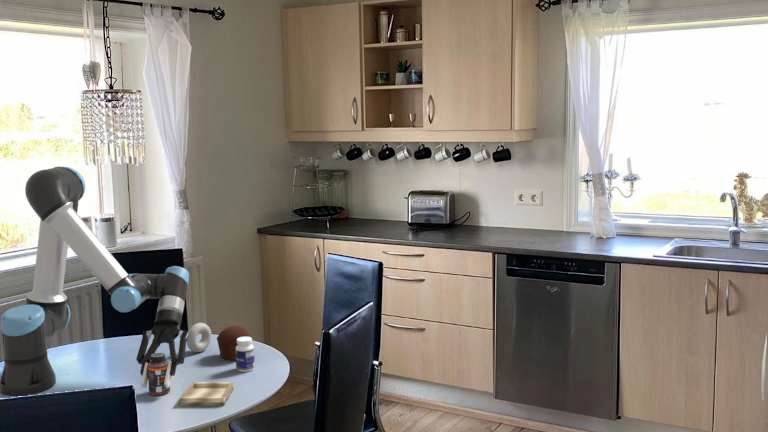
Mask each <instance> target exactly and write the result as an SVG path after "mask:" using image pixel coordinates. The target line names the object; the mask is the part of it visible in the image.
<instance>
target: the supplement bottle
mask: <svg viewBox="0 0 768 432" xmlns="http://www.w3.org/2000/svg"><path fill="white" fill-rule="evenodd" d="M168 363H170V362H169V361H168V360H167V359H166V354H165V353H164V352H155V353H154V354H152V355H151V361H150V362H149V363H148V381H147V383H148V393H149V394H150V395H152V396H163V395H166V394H168V393H170V391H171V385H170V386H169V388H166V386H165V384H164V382H165V377H166V372H167V367H168Z"/></svg>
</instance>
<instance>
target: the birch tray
mask: <svg viewBox="0 0 768 432" xmlns="http://www.w3.org/2000/svg"><path fill="white" fill-rule="evenodd" d="M233 391H234V382H231V381H228V382H227V381H225V382H220V381H218V382H217V381H216V382H213V381H211V382H209V381H208V382H205V381H203V382H202V381H201V382H197V381H196V382H191V383H190V385H189V386H188V387H187V389H185V391H184V393H183V394H182V395H181V397H179V398H180V400H179V401H180V407H203V406H204V407H209V406H210V407H214V406H215V407H224V406H225V405H226V403H227V401H228V400H229V398H230V396H231V394H232V393H233Z"/></svg>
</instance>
